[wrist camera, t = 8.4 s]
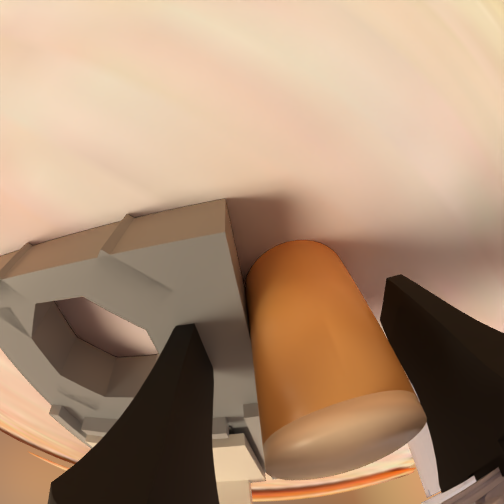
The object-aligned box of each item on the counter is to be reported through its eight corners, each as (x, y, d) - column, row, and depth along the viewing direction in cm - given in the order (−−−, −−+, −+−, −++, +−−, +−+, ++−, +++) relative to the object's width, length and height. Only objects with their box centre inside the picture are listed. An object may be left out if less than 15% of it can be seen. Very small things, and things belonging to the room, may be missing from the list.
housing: (224, 192, 9) (222, 241, 6) (280, 443, 19) (286, 479, 16) (-13, 256, 9) (-51, 297, 6) (143, 450, 19) (139, 482, 16)
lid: (243, 433, 12) (248, 491, 9) (264, 472, 16) (269, 510, 13) (87, 431, 12) (77, 477, 9) (148, 475, 16) (145, 508, 13)
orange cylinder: (344, 232, 10) (450, 388, 4) (342, 312, 12) (402, 453, 6) (236, 250, 10) (253, 446, 4) (253, 329, 12) (274, 487, 6)
